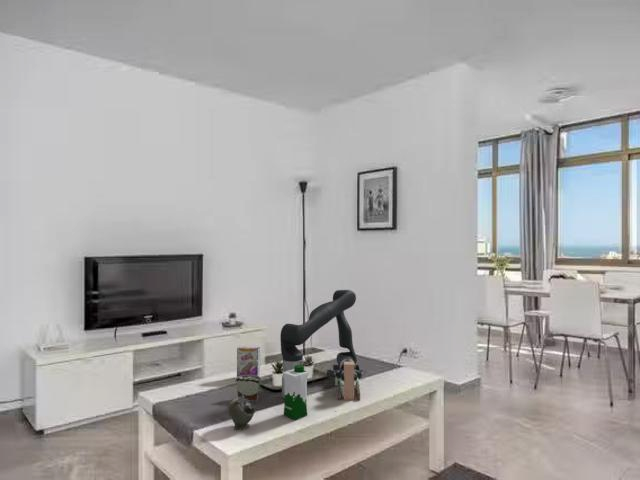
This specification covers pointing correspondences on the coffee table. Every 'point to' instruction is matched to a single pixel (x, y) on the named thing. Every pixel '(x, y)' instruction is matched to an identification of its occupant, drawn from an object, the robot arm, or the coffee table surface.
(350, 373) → the terracotta post
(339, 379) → the pad
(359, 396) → the walled channel
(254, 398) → the food container
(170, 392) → the coffee table surface
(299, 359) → the robot arm
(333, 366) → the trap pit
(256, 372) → the candy bar box
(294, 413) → the milk carton
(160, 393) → the coffee table surface
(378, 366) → the coffee table surface
